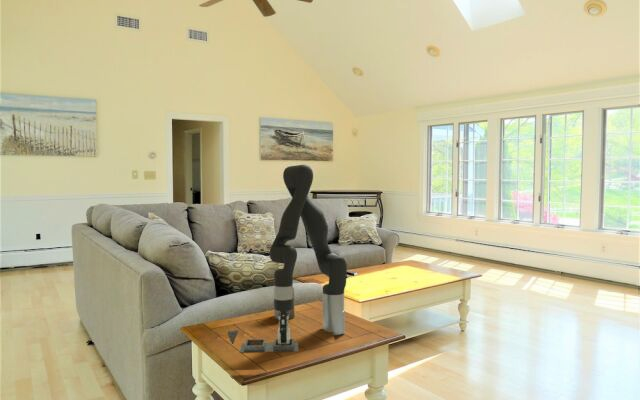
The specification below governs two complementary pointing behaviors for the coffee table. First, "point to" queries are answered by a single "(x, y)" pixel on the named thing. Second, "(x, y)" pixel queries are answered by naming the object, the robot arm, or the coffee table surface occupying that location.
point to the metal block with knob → (287, 336)
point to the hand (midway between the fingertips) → (283, 340)
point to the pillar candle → (291, 312)
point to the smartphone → (233, 335)
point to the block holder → (267, 346)
